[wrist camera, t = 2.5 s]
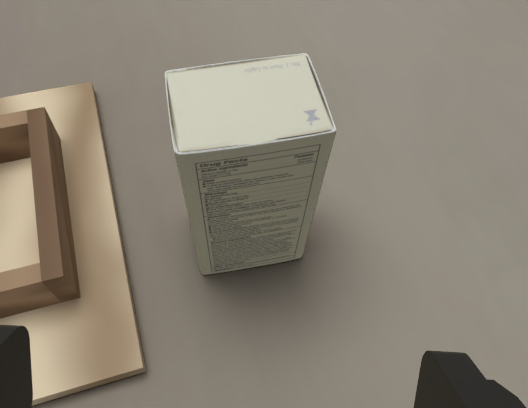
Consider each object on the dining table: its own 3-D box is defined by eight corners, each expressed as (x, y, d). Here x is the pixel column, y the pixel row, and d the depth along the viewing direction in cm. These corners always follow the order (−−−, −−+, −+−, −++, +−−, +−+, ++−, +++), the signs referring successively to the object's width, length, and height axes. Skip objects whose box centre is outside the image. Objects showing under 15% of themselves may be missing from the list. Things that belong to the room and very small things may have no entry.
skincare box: (286, 199, 30) (313, 48, 20) (304, 262, 28) (344, 130, 18) (187, 214, 30) (161, 64, 19) (197, 281, 27) (173, 153, 17)
